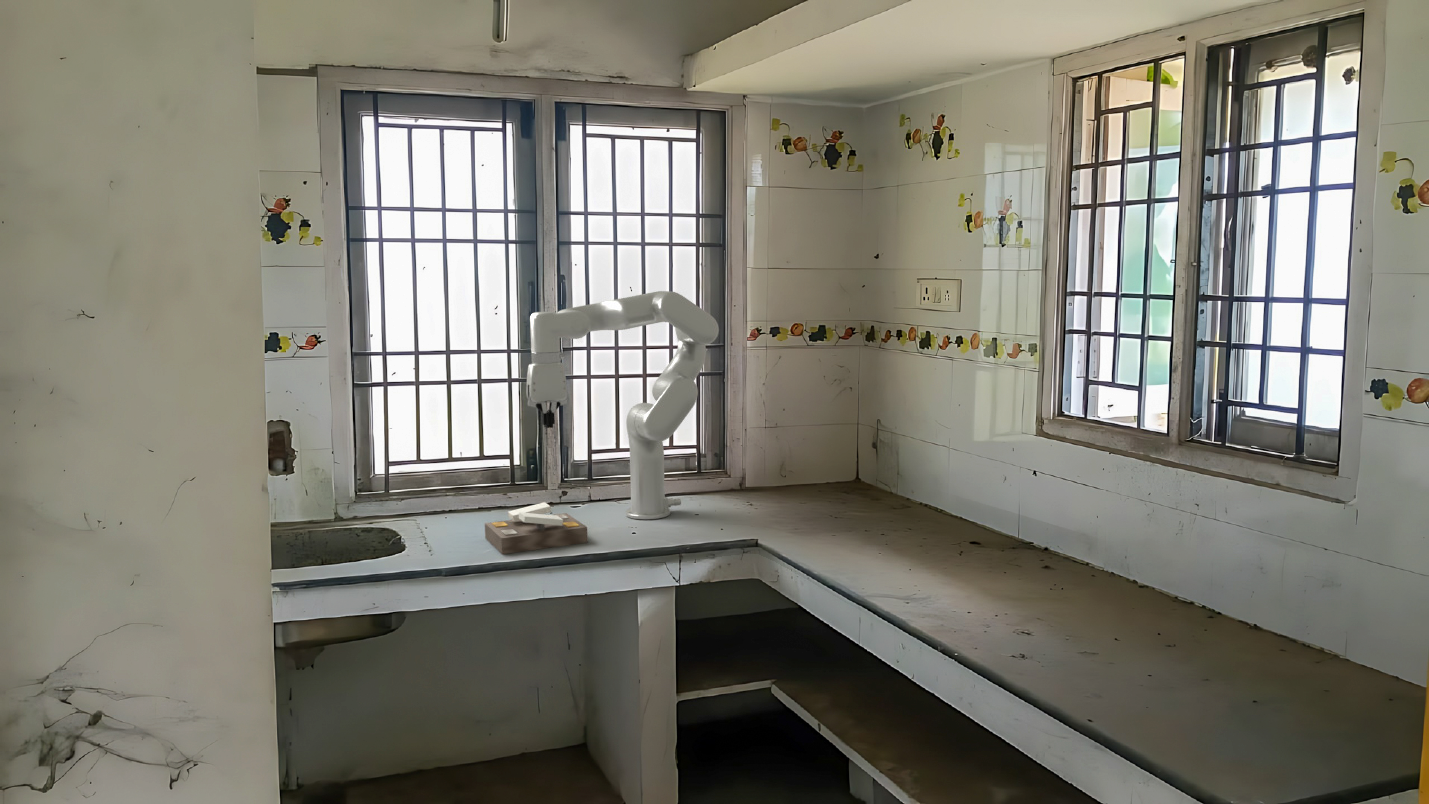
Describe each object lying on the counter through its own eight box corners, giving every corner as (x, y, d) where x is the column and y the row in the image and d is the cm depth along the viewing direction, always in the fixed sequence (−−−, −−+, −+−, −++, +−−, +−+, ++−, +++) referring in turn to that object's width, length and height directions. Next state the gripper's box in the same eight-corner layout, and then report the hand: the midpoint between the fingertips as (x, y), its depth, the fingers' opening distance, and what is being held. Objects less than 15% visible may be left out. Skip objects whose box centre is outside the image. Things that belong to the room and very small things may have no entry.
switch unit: (566, 527, 279) (566, 507, 278) (587, 542, 264) (586, 521, 263) (485, 538, 269) (484, 517, 269) (502, 554, 254) (501, 532, 253)
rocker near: (556, 521, 266) (557, 515, 266) (562, 525, 262) (563, 519, 262) (518, 518, 262) (519, 512, 262) (524, 522, 257) (525, 516, 257)
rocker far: (545, 507, 274) (544, 502, 274) (551, 511, 269) (550, 506, 269) (508, 517, 270) (507, 511, 270) (513, 521, 265) (512, 515, 265)
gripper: (568, 356, 281) (570, 423, 284) (514, 359, 275) (517, 427, 277) (577, 358, 274) (579, 426, 277) (522, 361, 268) (524, 431, 270)
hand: (548, 427), depth 277 cm, fingers closed
